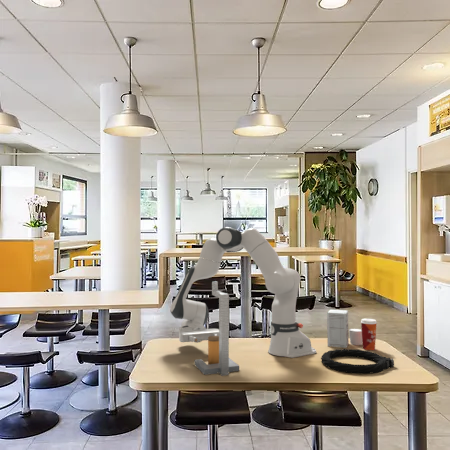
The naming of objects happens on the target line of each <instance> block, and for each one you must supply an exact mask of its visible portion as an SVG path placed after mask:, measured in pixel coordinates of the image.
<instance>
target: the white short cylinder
mask: <svg viewBox="0 0 450 450" xmlns="http://www.w3.org/2000/svg"><path fill="white" fill-rule="evenodd" d="M348 334H349V343H350V345H353V346H363V344H362V328H361V329H360V328H350V329H349V328H348Z"/></svg>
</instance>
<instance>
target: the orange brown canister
mask: <svg viewBox="0 0 450 450" xmlns="http://www.w3.org/2000/svg"><path fill="white" fill-rule="evenodd" d="M207 346H208V348H207V365H208V364H217V363H219V336H209V337H208V340H207Z"/></svg>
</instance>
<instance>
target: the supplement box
mask: <svg viewBox="0 0 450 450" xmlns="http://www.w3.org/2000/svg"><path fill="white" fill-rule="evenodd" d="M326 315H327V316H326V318H327V319H326V320H327V321H326V323H327V325H326V328H327V333H326V334H327V347H331V346H332V347H335V348H342V349H348V346H349V343H350V339H349V310H345V309H329V310H328V312H327V314H326ZM332 347H331V348H332Z"/></svg>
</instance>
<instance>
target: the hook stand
mask: <svg viewBox="0 0 450 450" xmlns="http://www.w3.org/2000/svg"><path fill="white" fill-rule="evenodd" d="M218 284H219V281H216V280H215V281H212V282H211V295H212V296H214V297H215V298H219V299H218V303H219V304H218V309H219V310H218V329H219V373H218V374H219V375H220V376H222V377H223V376H229V375H230V372H229V358H230V356H229V355H230V354H229V352H230V351H229V350H230V349H229V348H230V342H229V341H230V340H229V338H230V336H229V334H230V325H229V323H230V311H229V310H230V306H229V305H230V303H229V302H230V294H229V293H227V292H223V291H221V290H219V286H218Z"/></svg>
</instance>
